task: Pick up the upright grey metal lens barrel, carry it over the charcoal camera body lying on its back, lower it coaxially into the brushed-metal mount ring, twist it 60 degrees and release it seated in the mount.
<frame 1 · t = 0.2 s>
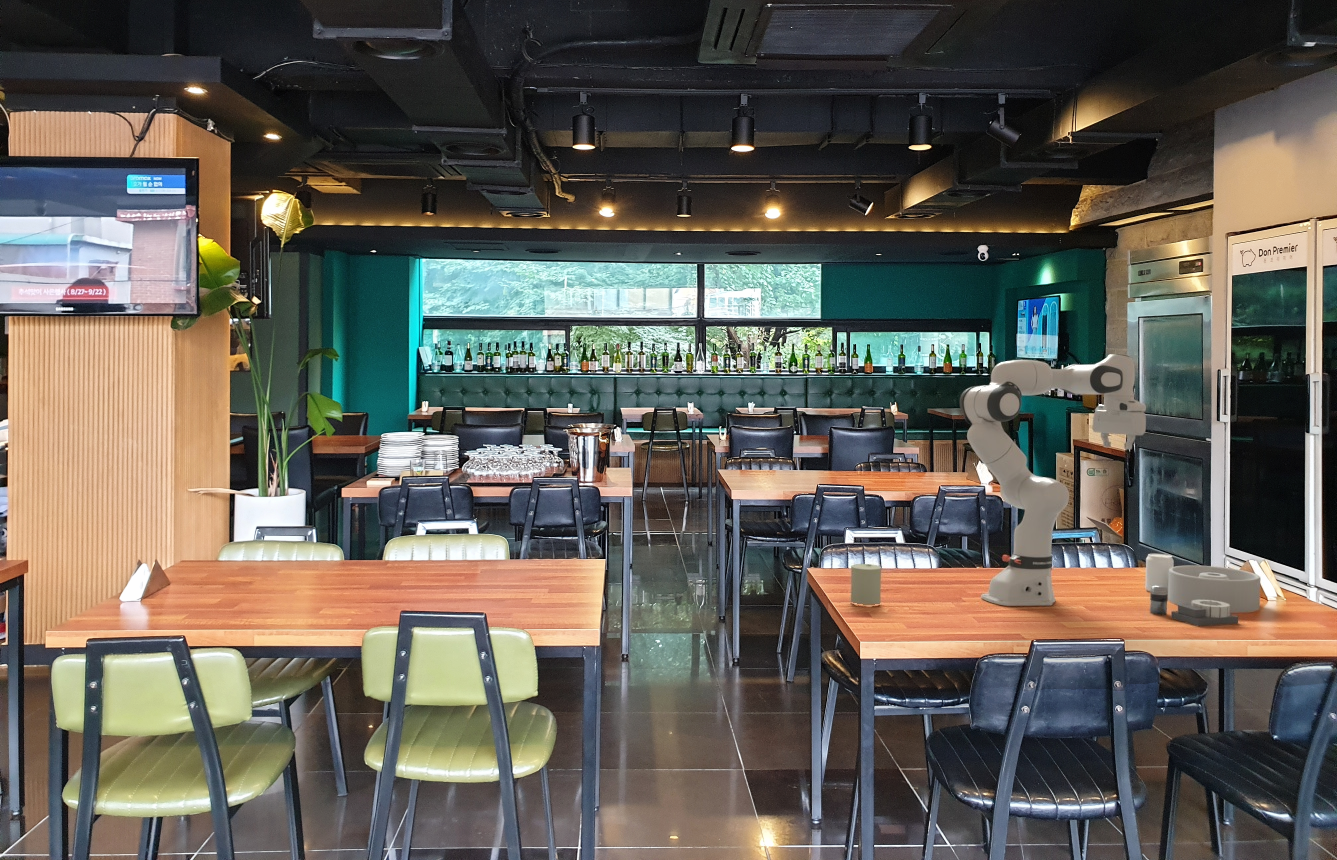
hand: (1117, 448, 320), 47 cm above the table, fingers open, 8 cm apart
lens: (1158, 613, 296), on the table
can: (865, 604, 305), on the table
beverage can: (1158, 592, 327), on the table
container: (1212, 605, 310), on the table
camera body: (1204, 620, 287), on the table
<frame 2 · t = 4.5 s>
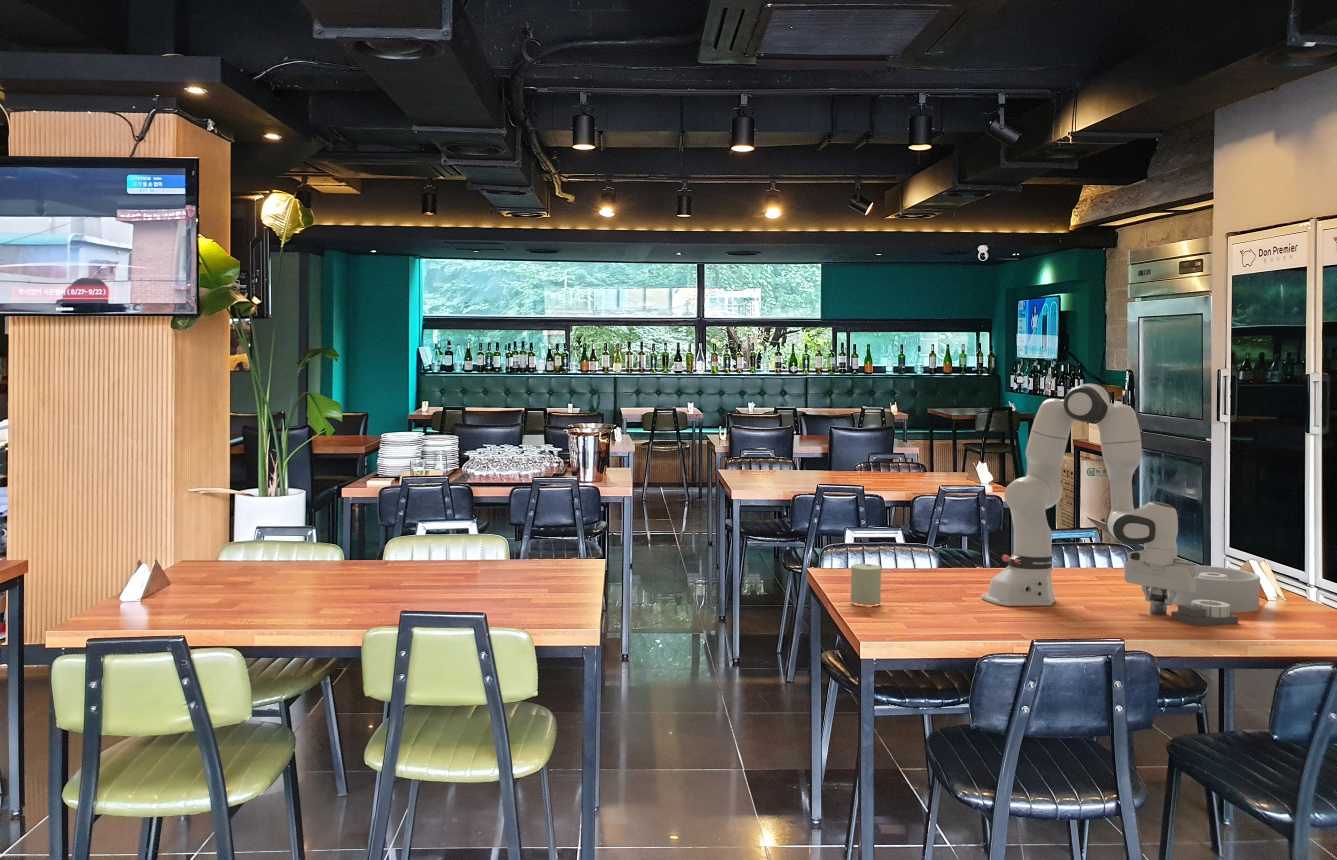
hand: (1158, 603, 295), 3 cm above the table, fingers closed on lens, 5 cm apart
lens: (1158, 613, 296), on the table, touching gripper
everything else where it was.
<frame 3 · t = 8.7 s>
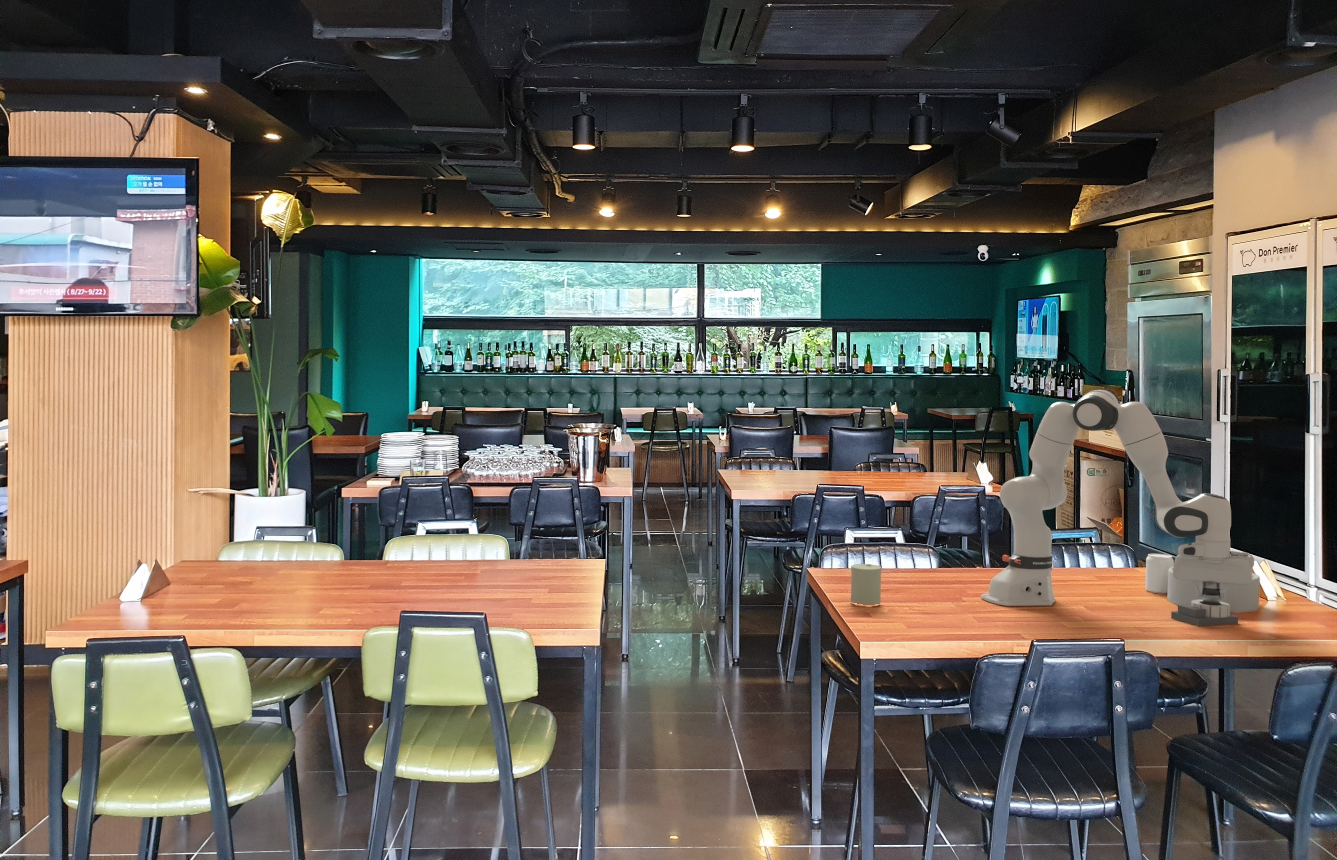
hand: (1211, 597, 288), 7 cm above the table, fingers closed on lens, 5 cm apart
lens: (1211, 608, 287), point 3 cm above the table, tilted 5°, touching gripper
everything else where it was.
when the fingers open (6 cm above the table, at t = 9.1 s): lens drops 1 cm, resting on camera body.
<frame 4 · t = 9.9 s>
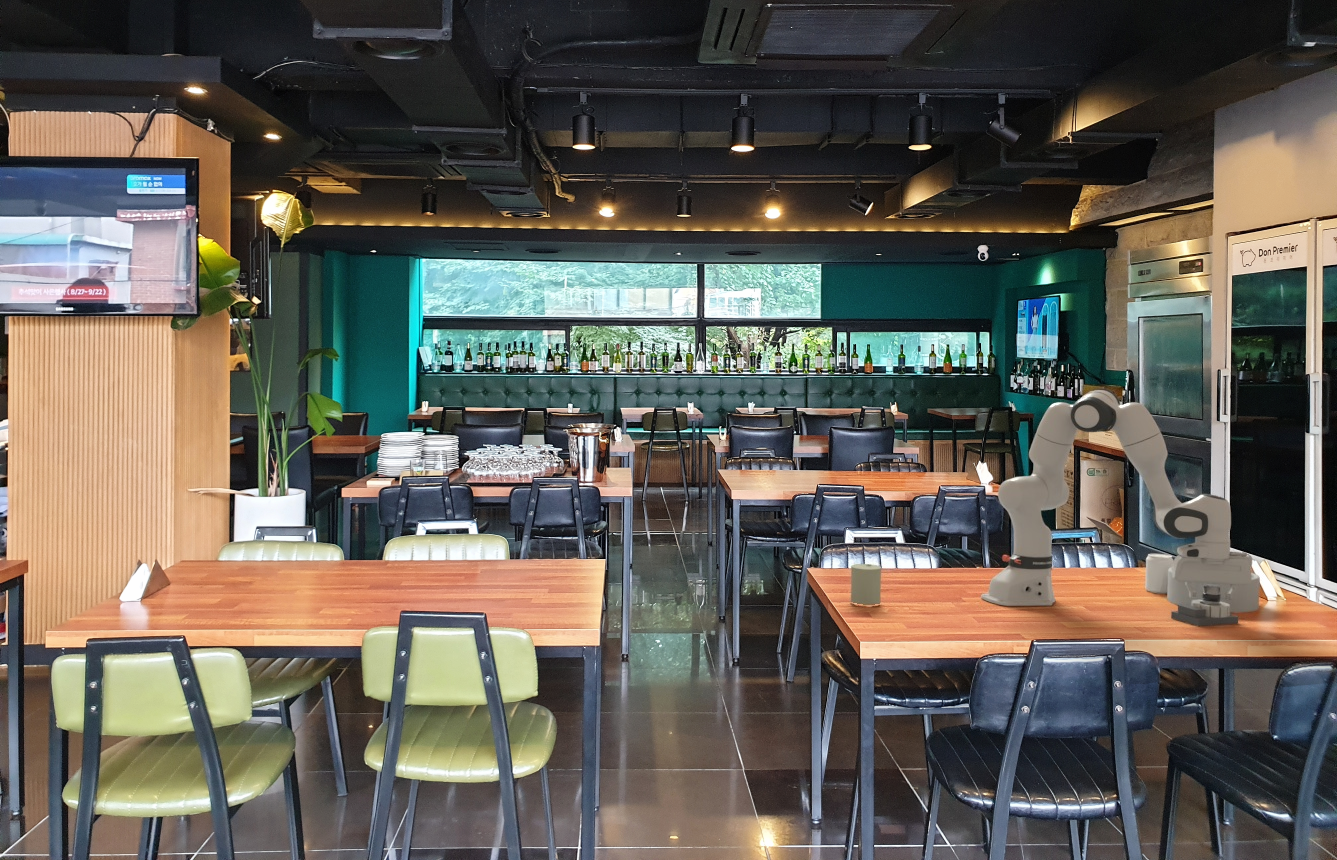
hand: (1210, 598, 287), 6 cm above the table, fingers open, 8 cm apart
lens: (1210, 613, 287), point 2 cm above the table, touching camera body
everything else where it was.
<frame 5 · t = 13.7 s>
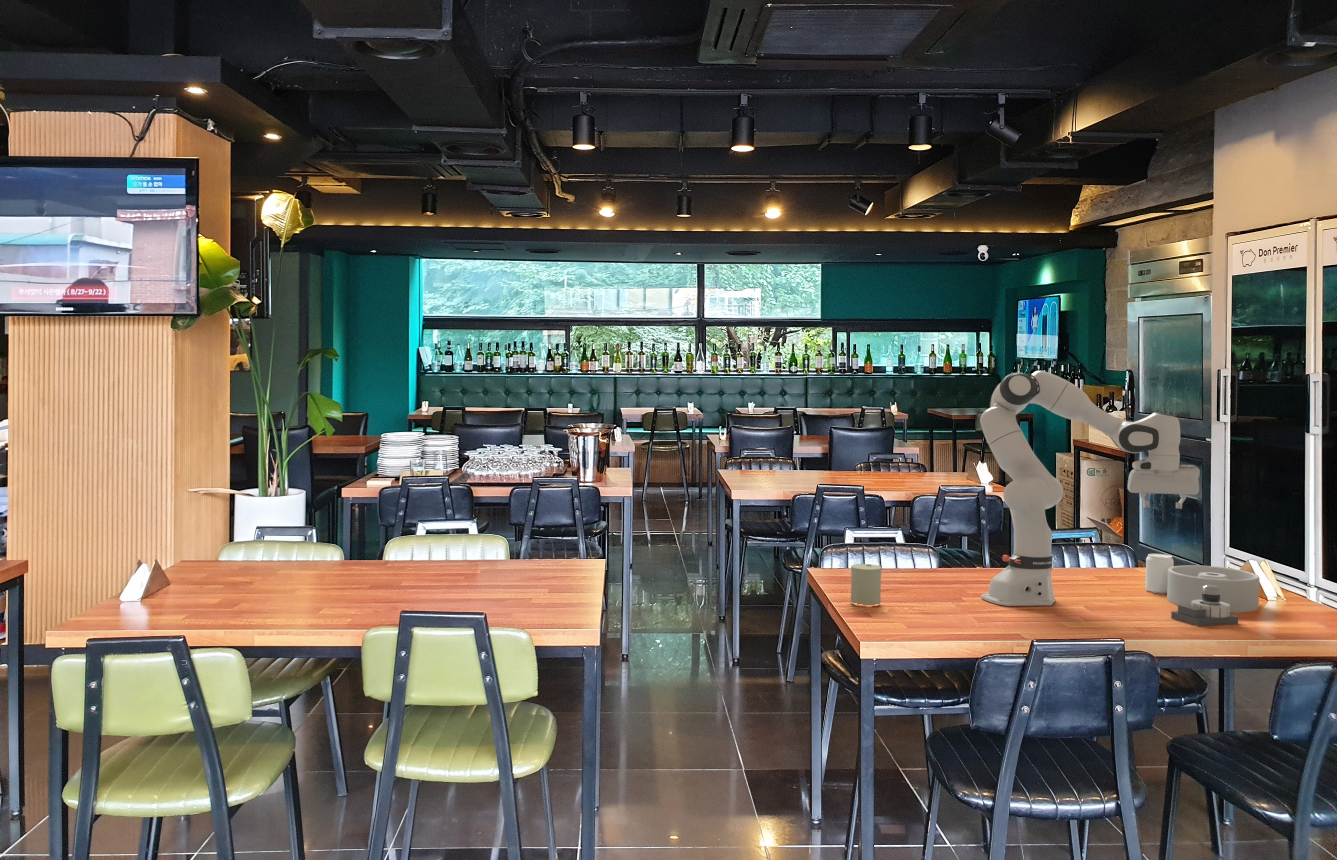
hand: (1162, 507, 314), 29 cm above the table, fingers open, 8 cm apart
nothing on the table moved.
at the end: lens 0.5 cm from the target spot on the camera body, point 2.0 cm above the camera body's base; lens tilted 1°; the gripper is holding nothing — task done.
